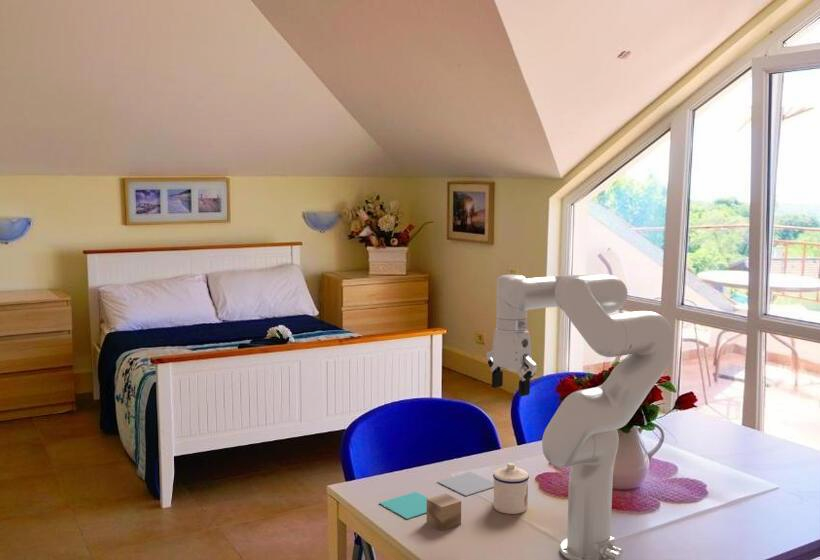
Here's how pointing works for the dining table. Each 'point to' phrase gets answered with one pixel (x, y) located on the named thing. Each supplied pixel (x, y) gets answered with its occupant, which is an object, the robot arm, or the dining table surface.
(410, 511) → the teal mat
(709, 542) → the dining table surface
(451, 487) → the grey mat
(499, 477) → the teacup with lid
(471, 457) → the dining table surface
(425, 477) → the dining table surface
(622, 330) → the robot arm
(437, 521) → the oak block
